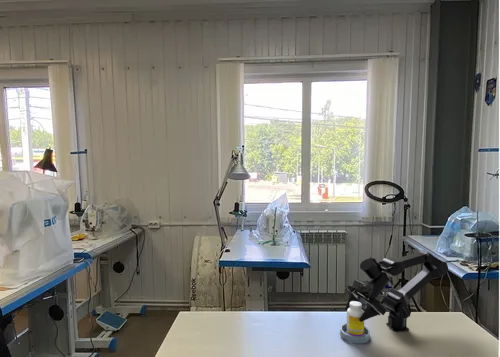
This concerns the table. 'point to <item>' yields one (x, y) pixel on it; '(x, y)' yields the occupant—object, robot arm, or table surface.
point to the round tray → (353, 338)
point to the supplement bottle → (355, 319)
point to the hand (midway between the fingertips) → (352, 315)
